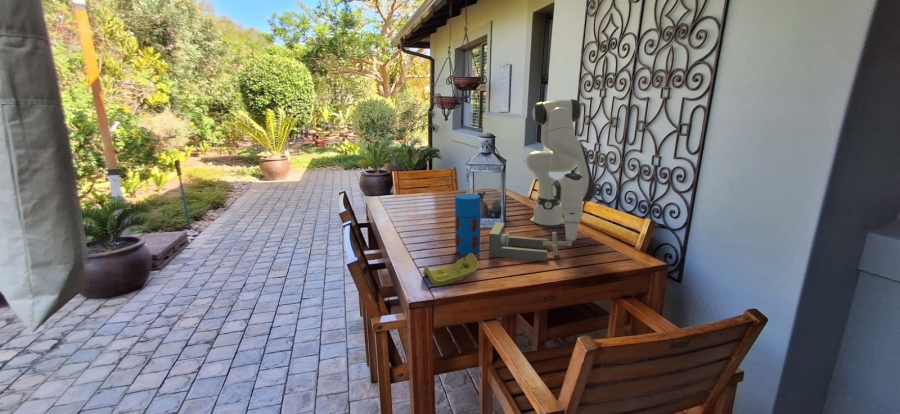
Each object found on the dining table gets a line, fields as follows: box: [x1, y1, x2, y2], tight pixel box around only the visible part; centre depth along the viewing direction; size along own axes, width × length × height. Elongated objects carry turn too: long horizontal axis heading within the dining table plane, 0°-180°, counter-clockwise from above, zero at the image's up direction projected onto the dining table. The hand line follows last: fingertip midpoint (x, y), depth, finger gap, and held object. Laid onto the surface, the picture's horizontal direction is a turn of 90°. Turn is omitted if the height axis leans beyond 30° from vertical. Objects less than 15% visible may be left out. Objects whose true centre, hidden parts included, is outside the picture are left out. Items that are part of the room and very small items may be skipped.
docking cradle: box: [488, 222, 550, 262], centre depth 173 cm, size 17×24×10 cm
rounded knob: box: [501, 232, 510, 247], centre depth 176 cm, size 6×7×6 cm
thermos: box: [454, 193, 481, 257], centre depth 172 cm, size 11×11×25 cm
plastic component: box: [422, 253, 480, 287], centre depth 149 cm, size 20×7×10 cm
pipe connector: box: [543, 231, 568, 256], centre depth 169 cm, size 10×10×10 cm
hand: (569, 244), depth 168 cm, fingers closed, pressing on pipe connector
